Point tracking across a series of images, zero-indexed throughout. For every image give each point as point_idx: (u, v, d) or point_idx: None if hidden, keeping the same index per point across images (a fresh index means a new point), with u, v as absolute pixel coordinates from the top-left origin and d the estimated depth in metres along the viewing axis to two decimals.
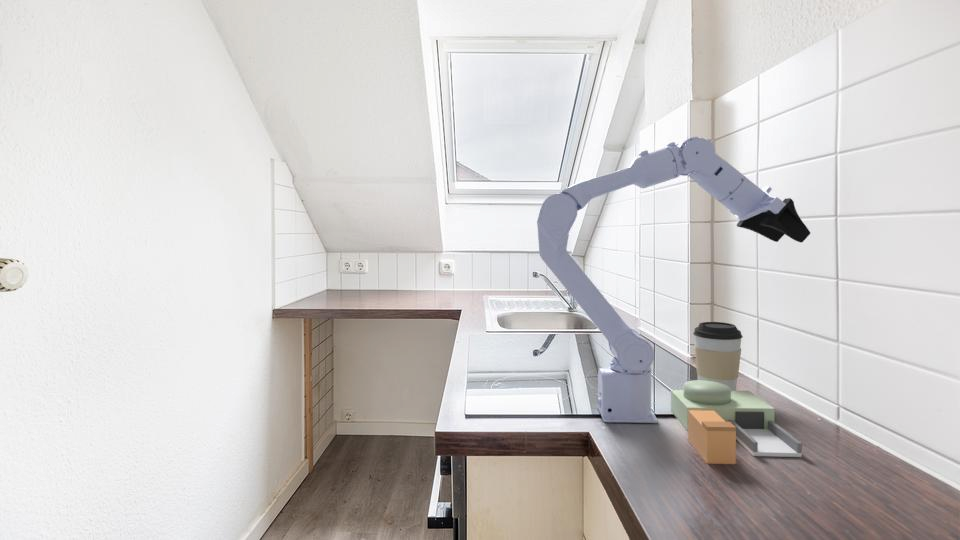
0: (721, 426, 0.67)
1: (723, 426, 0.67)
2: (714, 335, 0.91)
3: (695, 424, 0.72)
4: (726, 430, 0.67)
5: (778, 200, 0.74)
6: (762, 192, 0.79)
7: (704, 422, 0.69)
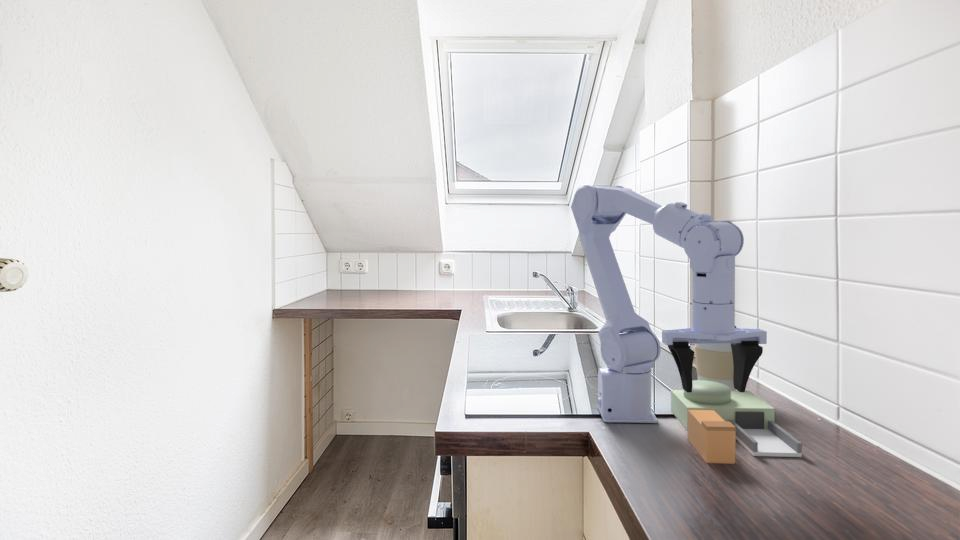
0: (721, 426, 0.67)
1: (723, 426, 0.67)
2: None
3: (695, 423, 0.72)
4: (726, 430, 0.67)
5: (665, 336, 0.70)
6: (705, 330, 0.68)
7: (704, 422, 0.69)
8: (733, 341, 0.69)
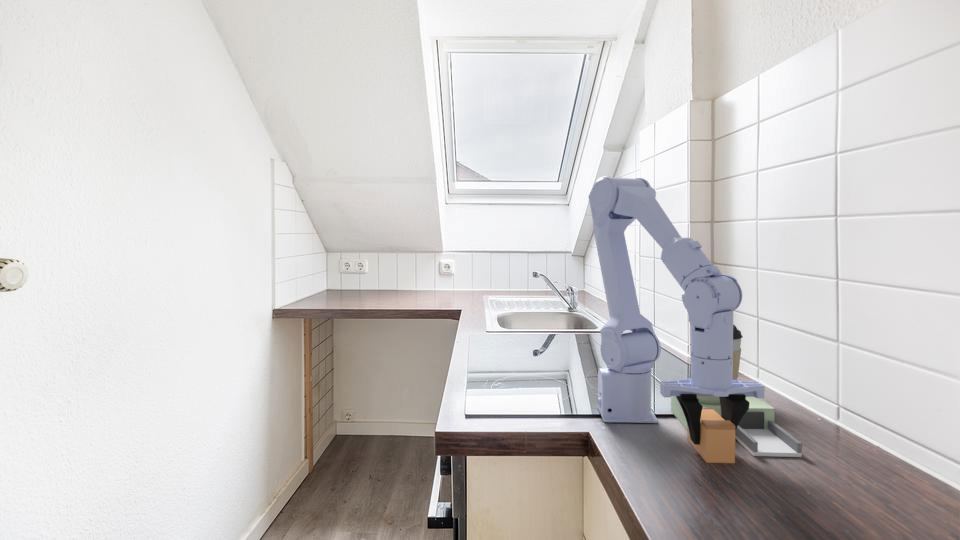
0: (720, 425, 0.67)
1: (722, 425, 0.67)
2: None
3: None
4: (725, 429, 0.67)
5: (663, 388, 0.71)
6: (703, 384, 0.69)
7: (703, 421, 0.69)
8: (731, 394, 0.70)
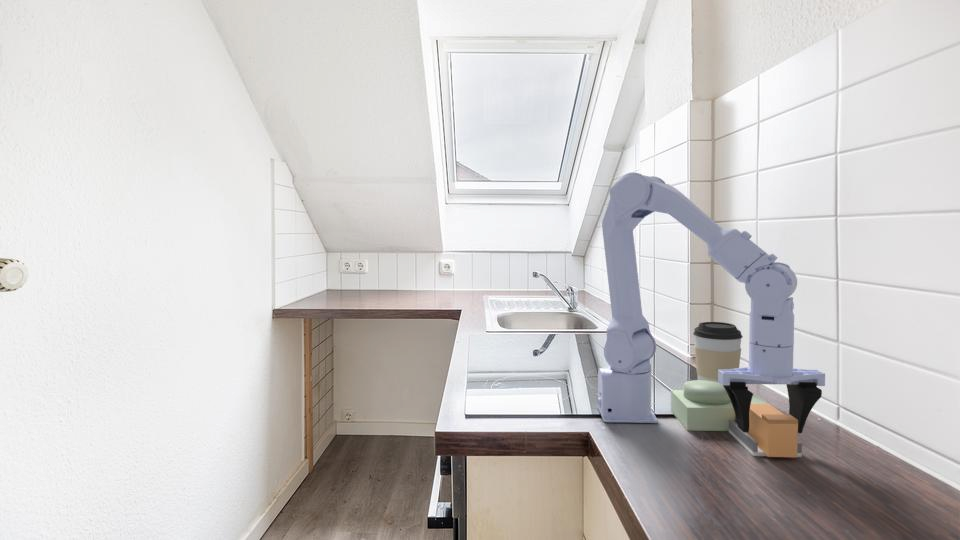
0: (783, 419, 0.67)
1: (785, 419, 0.67)
2: (714, 335, 0.91)
3: (753, 417, 0.72)
4: (788, 423, 0.67)
5: (722, 377, 0.71)
6: (763, 372, 0.69)
7: (764, 415, 0.69)
8: (791, 382, 0.70)
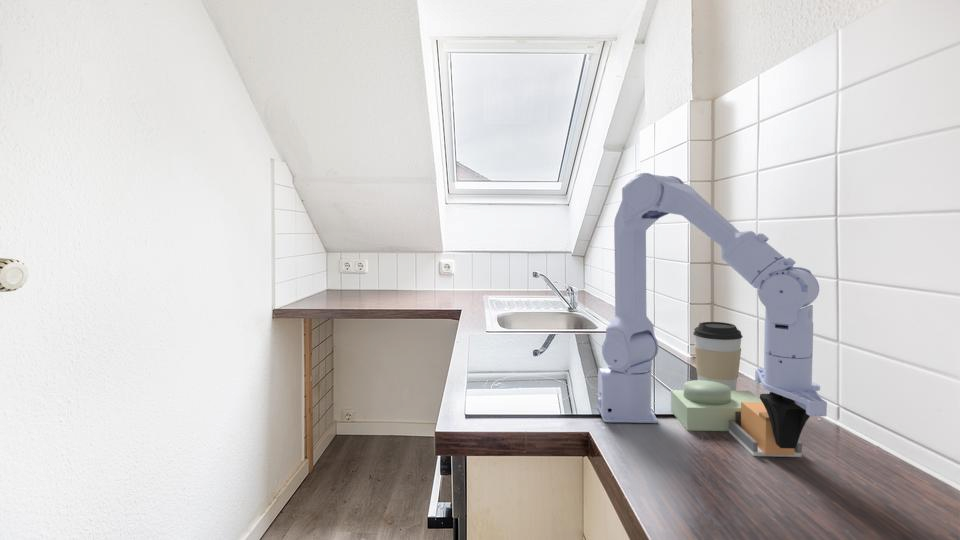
0: None
1: None
2: (714, 335, 0.91)
3: (750, 415, 0.73)
4: None
5: (824, 407, 0.59)
6: (810, 384, 0.64)
7: (762, 413, 0.70)
8: None
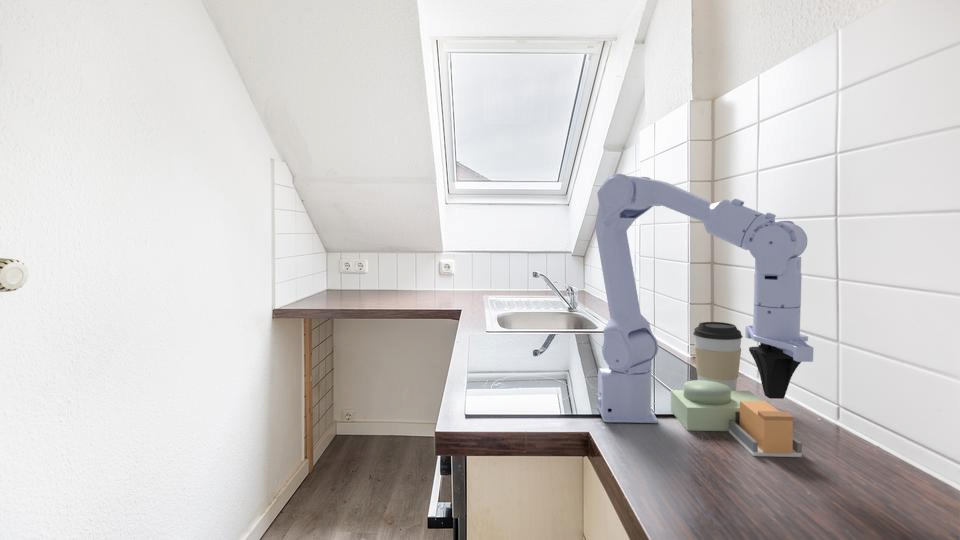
0: (778, 415, 0.69)
1: (780, 415, 0.69)
2: (714, 335, 0.91)
3: (749, 414, 0.73)
4: (783, 419, 0.68)
5: (810, 352, 0.60)
6: (798, 334, 0.65)
7: (760, 412, 0.70)
8: None
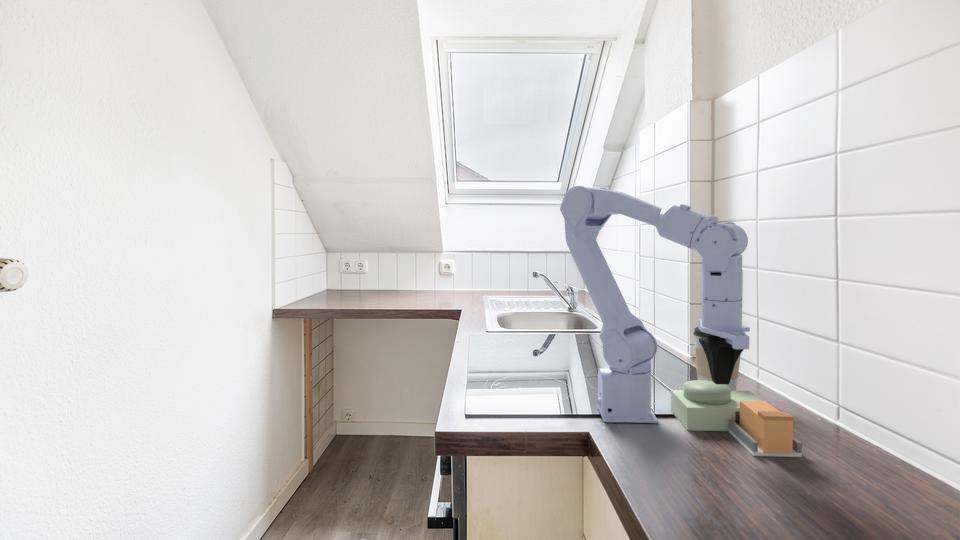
0: (778, 415, 0.69)
1: (780, 415, 0.69)
2: None
3: (749, 414, 0.73)
4: (783, 419, 0.68)
5: (747, 341, 0.66)
6: (740, 325, 0.71)
7: (760, 412, 0.70)
8: None
